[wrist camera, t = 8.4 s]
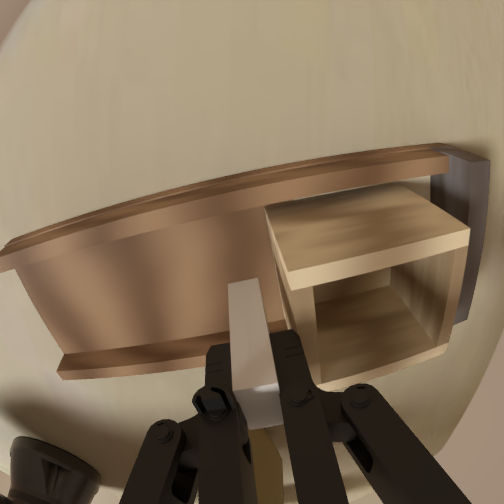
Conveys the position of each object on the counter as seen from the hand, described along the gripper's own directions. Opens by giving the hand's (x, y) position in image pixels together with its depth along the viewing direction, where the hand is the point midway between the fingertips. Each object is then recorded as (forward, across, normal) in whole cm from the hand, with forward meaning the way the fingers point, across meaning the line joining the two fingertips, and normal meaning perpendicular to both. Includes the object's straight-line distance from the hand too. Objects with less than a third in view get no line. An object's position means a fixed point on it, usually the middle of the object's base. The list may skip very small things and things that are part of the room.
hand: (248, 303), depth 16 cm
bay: (+5, -1, 0) cm, 5 cm away
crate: (+3, +6, 0) cm, 7 cm away
